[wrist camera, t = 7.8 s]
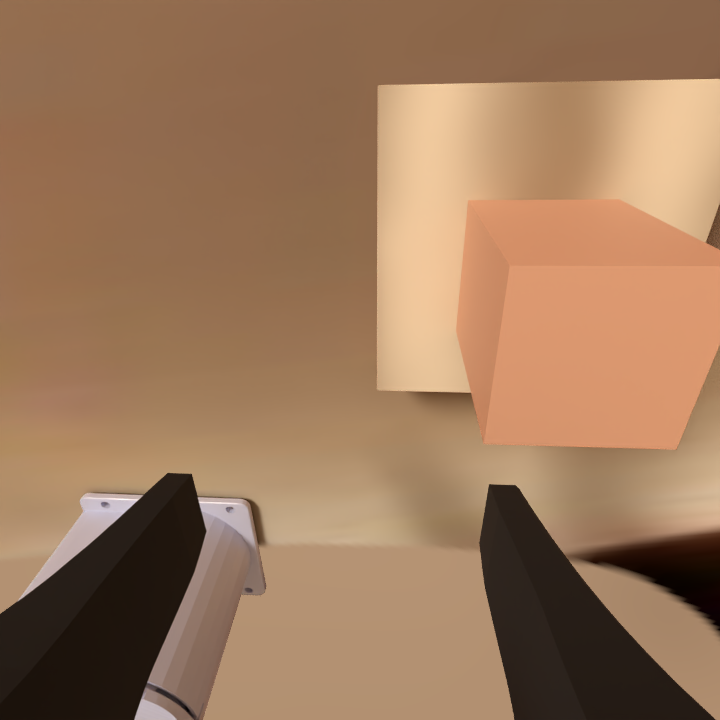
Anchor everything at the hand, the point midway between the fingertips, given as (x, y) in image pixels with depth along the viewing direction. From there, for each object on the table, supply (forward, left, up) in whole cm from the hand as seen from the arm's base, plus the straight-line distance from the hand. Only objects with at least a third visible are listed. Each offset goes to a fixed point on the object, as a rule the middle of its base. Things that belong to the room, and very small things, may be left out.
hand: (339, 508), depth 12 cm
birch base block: (+6, +4, -10) cm, 12 cm away
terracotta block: (+6, +4, -7) cm, 10 cm away
